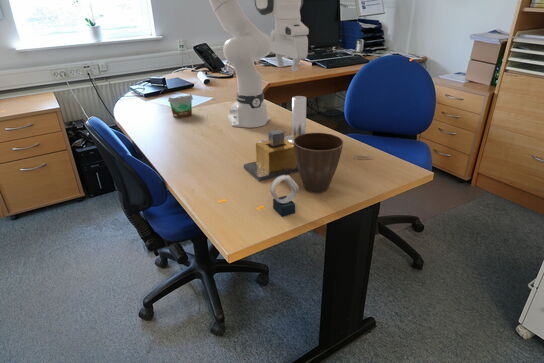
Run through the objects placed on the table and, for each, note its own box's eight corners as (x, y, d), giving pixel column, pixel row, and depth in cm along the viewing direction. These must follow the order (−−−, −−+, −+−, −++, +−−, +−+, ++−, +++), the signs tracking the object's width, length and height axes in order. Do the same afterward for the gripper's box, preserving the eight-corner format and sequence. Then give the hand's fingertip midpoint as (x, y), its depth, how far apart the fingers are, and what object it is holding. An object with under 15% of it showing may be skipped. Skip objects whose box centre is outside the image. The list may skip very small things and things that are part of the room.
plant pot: (317, 173, 135) (319, 129, 127) (349, 189, 124) (353, 142, 117) (283, 185, 127) (283, 139, 120) (314, 204, 116) (316, 154, 109)
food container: (175, 120, 188) (172, 100, 183) (170, 117, 192) (167, 97, 188) (198, 115, 194) (196, 95, 190) (193, 112, 199) (191, 93, 194)
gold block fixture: (238, 163, 143) (234, 98, 132) (295, 150, 153) (296, 89, 142) (259, 181, 130) (256, 111, 119) (320, 165, 140) (323, 99, 129)
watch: (301, 211, 113) (301, 177, 108) (276, 218, 109) (275, 183, 104) (291, 202, 117) (292, 169, 112) (267, 209, 114) (266, 175, 109)
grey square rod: (268, 164, 138) (268, 132, 133) (279, 161, 140) (279, 129, 135) (273, 167, 136) (272, 134, 130) (284, 164, 138) (284, 132, 132)
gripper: (265, 25, 140) (265, 65, 146) (295, 30, 124) (294, 75, 130) (280, 24, 143) (280, 63, 149) (311, 29, 127) (310, 73, 133)
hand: (287, 68), depth 140 cm, fingers open, 8 cm apart
